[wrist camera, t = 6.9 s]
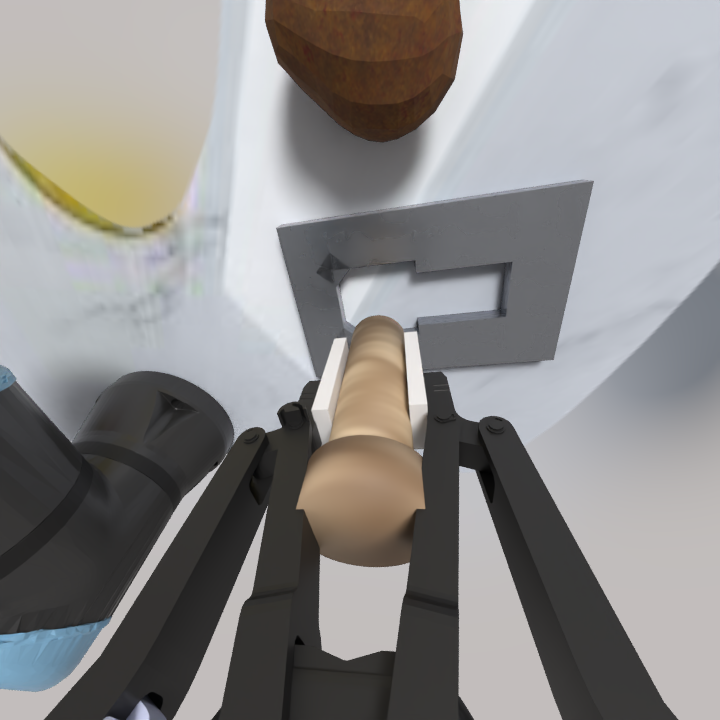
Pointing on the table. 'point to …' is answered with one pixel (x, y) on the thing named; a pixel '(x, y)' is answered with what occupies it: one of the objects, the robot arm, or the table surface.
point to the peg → (367, 457)
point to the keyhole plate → (449, 251)
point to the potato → (369, 58)
